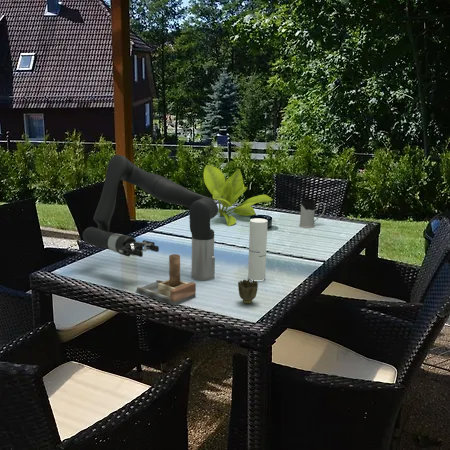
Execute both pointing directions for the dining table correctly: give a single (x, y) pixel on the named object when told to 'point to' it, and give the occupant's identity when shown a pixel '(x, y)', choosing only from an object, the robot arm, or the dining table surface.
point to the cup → (247, 290)
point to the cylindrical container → (257, 249)
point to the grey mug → (308, 213)
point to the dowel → (174, 270)
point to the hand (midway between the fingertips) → (150, 251)
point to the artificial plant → (230, 193)
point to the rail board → (155, 288)
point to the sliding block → (167, 287)
